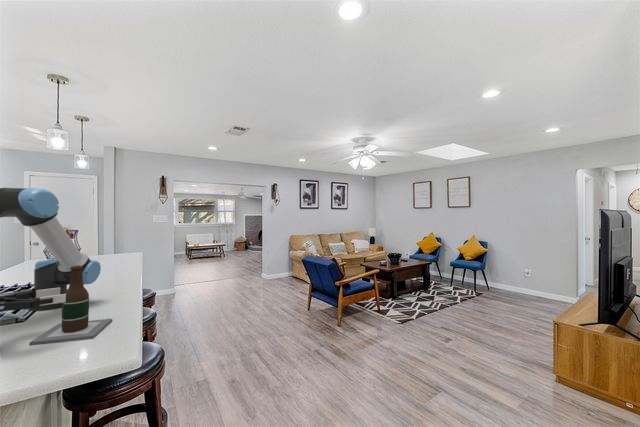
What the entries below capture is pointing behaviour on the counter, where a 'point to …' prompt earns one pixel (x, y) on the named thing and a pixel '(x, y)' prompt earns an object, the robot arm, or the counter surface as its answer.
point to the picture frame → (71, 333)
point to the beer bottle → (75, 303)
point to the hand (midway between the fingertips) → (62, 294)
